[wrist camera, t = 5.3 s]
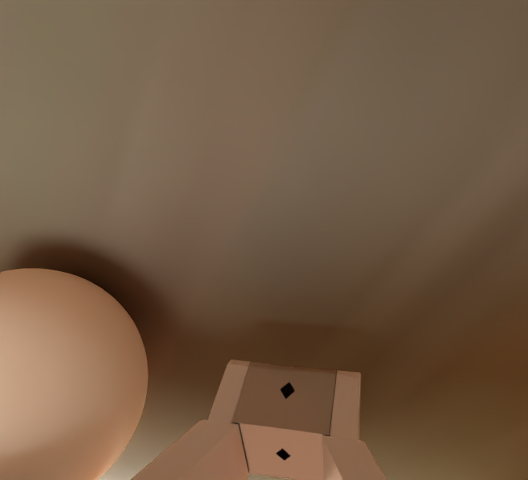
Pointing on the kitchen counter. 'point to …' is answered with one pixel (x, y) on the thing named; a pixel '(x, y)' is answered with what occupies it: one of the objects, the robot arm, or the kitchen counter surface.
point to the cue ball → (65, 377)
